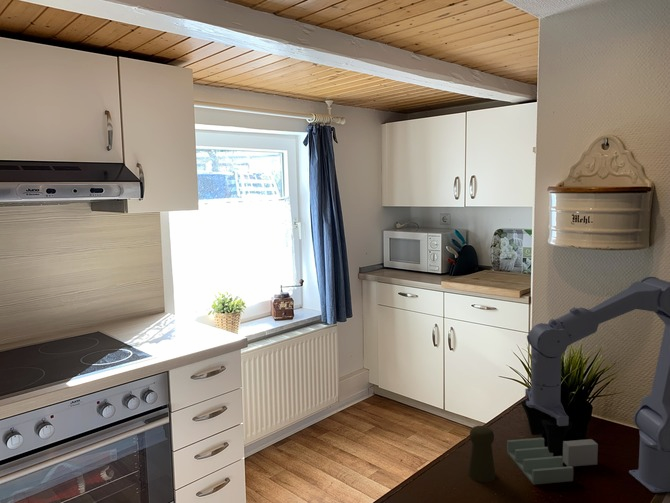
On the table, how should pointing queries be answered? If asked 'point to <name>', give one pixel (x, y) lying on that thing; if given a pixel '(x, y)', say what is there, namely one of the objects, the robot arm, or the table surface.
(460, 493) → the table surface
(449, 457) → the table surface
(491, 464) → the dark green pepper mill
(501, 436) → the table surface
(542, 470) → the rack
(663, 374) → the robot arm
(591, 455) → the white rectangular block
